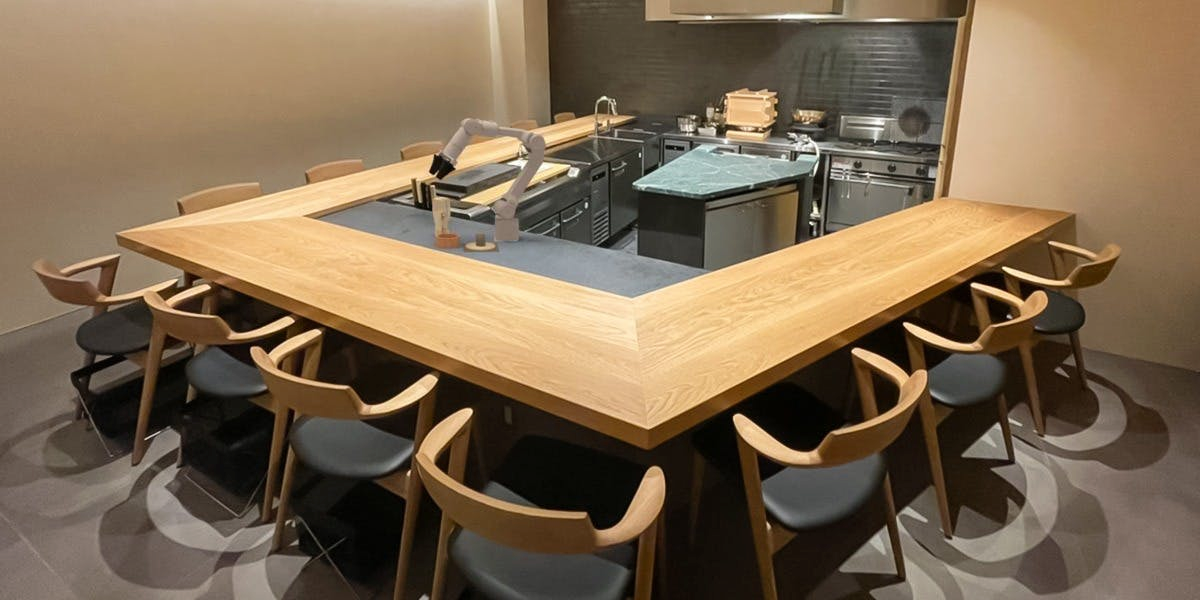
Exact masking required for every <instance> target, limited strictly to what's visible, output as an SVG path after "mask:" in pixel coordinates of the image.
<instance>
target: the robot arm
mask: <svg viewBox="0 0 1200 600" xmlns="http://www.w3.org/2000/svg"><path fill="white" fill-rule="evenodd" d="M474 136H480V137H484V138H492V139H493V138H494V139H495V138H496V137H497V136H503V137H509V138H515V139H517V140H518V141H519V142H521V143H522V145H523V147H524V148H525V150H526V153H527V156H528V160H527V161H526V163H525V165H524V166H523V167H522V169H521V170H520V171H519V174H518V175H517V176H516V178H515V180H514V181H513V182H512V184H511V185H510V187H509V188H508V190H507V192H505V193H503V194H502V195H501V197H500V198H499V199H497V200H495V202H494V203H493V206H492V208H493V211H494V212H495V216H494V236H493V237H494V238H493V241H494V243H504V242H503V241H511V240H512V241H513V240H519V241H520V220H519V217H518V218H516V217H514V216H515V214H516V209H517V207H518V206H519V199H520V198H521V196H522V195H523V193H524V192H525V191H526V189H527V188H528V186H529V184H530V183H531V181H532V180H533V178H534V177H535V175H536V174H537V172H538V171H539V169H540V168H541V166H542V165H543V164H544V159H545V152H546V151H545V150H546V147H547V144H546V140H545V138H544V137H543V135H541V134H539V133H535V132H531V131H529V130H525V129H522V128H517V127H506V126H499V124H498V123H497V122H496V121H494V120H493V119H489V120H488V121H487V120H484V119H483V120H481V118H476V119H475V118H474V119H473V118H470V117H469V118H465V119H463V120H461V122H460V127H459V129H458V130H457V131H456V132H455V133H454V135H453V137H452V138H451V139H450V141H449V142H448V143H447V145H446V146H445V147H444V149H439V152H438V153H437V154H435V153H434V154H433V159H432V163H431V165H430V168H429V171H428V174H429V173H430V175H432V176H435V178H436V179H438V180H439V181H442V180H443V179H444V178H445V177H447V176H448V175H449V174H450V173H452V172H454V171H456V170H457V168H456V166H457V164H458V163H459V161H457V160H458V158H459V157H460V155H462V153H463V151H464V150H465V149H466V148H467V146H468V144H469V143H470V141H471V140H472V138H473V137H474Z"/></svg>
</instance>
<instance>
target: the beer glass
mask: <svg viewBox="0 0 1200 600" xmlns="http://www.w3.org/2000/svg"><path fill="white" fill-rule="evenodd" d="M431 209H432V216H433V217H432V218H433V222H434V226H435V228H434V229H435V230H434V237H436V235H438V234H443V233H451V232H450V227H449V226H450V219H451V201H450V198H449V197H447V196H446V197H445V196H436V197H435V196H434V197H432V208H431Z"/></svg>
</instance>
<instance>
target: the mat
mask: <svg viewBox="0 0 1200 600" xmlns="http://www.w3.org/2000/svg"><path fill="white" fill-rule="evenodd" d="M466 244H468V242H467V243H462V250H463V251H462V252H463V253H492V252H493V253H497V252H498V253H499V252H500V249H499V246H498V242H493V244H495V249H493V250H489V251H473V250H468V249H466Z"/></svg>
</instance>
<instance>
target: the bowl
mask: <svg viewBox="0 0 1200 600" xmlns="http://www.w3.org/2000/svg"><path fill="white" fill-rule="evenodd" d="M460 243H461V239H460V234H457V233H451V232H450V233H443V234H438V235H436V236H435V247H437V248H440V249H456V248H459V247H460V246H461V244H460Z"/></svg>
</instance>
